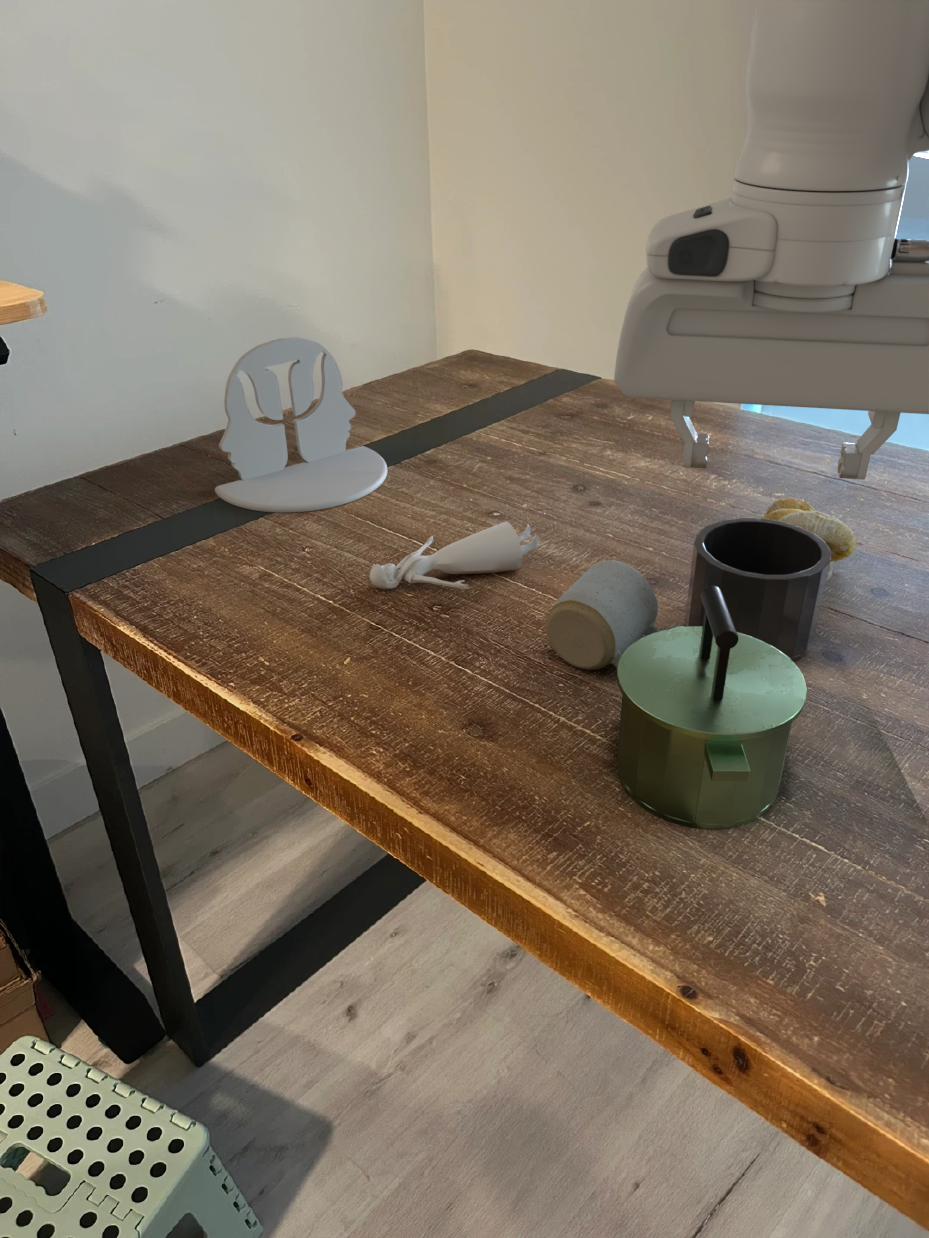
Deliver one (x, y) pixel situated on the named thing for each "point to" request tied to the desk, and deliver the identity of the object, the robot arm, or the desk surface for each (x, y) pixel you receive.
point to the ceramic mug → (602, 615)
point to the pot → (698, 772)
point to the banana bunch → (815, 526)
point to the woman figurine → (460, 558)
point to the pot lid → (712, 679)
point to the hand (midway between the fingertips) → (771, 470)
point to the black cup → (762, 580)
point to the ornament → (318, 435)
